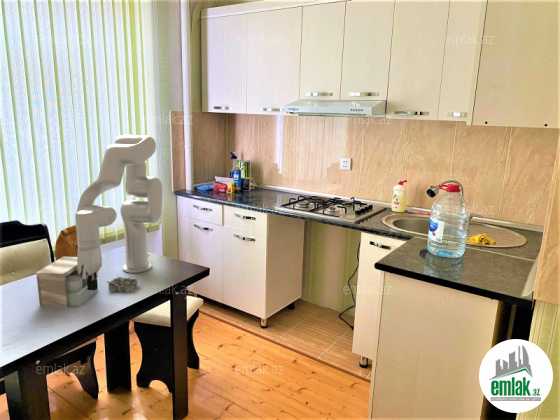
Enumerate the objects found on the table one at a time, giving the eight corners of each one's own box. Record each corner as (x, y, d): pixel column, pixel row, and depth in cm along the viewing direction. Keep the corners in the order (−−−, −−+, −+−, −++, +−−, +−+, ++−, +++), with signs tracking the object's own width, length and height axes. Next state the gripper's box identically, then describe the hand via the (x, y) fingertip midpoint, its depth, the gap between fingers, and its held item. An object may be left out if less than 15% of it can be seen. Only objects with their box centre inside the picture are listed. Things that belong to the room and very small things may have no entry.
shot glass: (59, 297, 155) (58, 280, 153) (72, 290, 161) (70, 273, 160) (75, 300, 153) (74, 282, 152) (87, 292, 160) (86, 275, 158)
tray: (68, 288, 164) (67, 278, 163) (97, 290, 164) (97, 279, 163) (47, 304, 151) (46, 293, 150) (79, 306, 150) (78, 294, 149)
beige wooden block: (66, 286, 166) (63, 256, 163) (90, 288, 165) (87, 257, 162) (39, 305, 149) (36, 272, 146) (66, 307, 149) (63, 273, 146)
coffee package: (93, 271, 182) (90, 224, 177) (74, 282, 170) (70, 231, 165) (74, 269, 184) (69, 222, 179) (53, 280, 172) (48, 229, 167)
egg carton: (106, 291, 164) (105, 281, 163) (116, 283, 171) (115, 274, 170) (130, 293, 162) (130, 283, 161) (140, 285, 169) (139, 276, 169)
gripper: (89, 237, 159) (92, 281, 164) (67, 249, 145) (72, 297, 149) (108, 237, 159) (111, 281, 163) (88, 250, 144) (92, 298, 149)
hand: (92, 289), depth 156 cm, fingers closed
